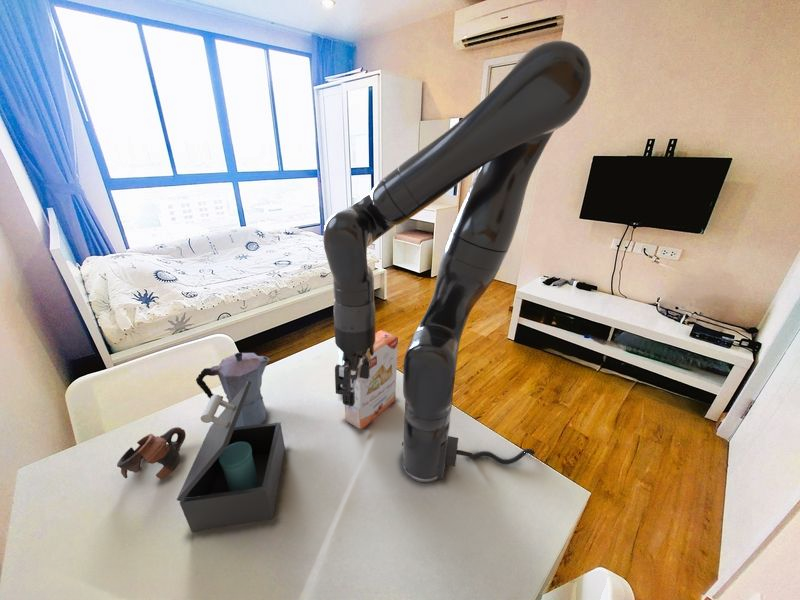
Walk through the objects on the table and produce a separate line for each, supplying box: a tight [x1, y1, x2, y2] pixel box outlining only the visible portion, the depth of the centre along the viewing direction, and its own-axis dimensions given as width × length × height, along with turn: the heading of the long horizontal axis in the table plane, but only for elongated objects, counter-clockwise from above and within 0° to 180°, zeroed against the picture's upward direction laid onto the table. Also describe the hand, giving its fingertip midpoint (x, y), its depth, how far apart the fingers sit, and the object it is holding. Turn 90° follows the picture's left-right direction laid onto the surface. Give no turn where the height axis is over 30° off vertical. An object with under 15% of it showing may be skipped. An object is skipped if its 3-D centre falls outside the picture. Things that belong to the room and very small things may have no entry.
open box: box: [179, 421, 286, 533], centre depth 63 cm, size 14×16×9 cm
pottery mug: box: [116, 426, 186, 480], centre depth 68 cm, size 12×10×8 cm
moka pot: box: [195, 352, 271, 427], centre depth 76 cm, size 10×15×20 cm, turn 124°
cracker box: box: [344, 329, 399, 430], centre depth 80 cm, size 14×6×21 cm, turn 143°
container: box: [219, 442, 258, 491], centre depth 62 cm, size 6×6×9 cm
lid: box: [176, 381, 251, 502], centre depth 57 cm, size 14×16×5 cm
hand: (357, 390), depth 65 cm, fingers open, 8 cm apart
